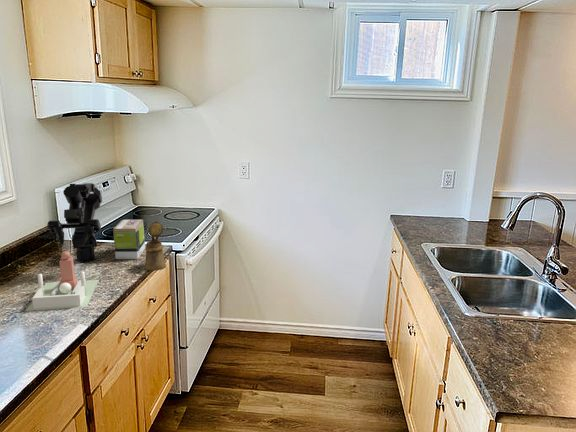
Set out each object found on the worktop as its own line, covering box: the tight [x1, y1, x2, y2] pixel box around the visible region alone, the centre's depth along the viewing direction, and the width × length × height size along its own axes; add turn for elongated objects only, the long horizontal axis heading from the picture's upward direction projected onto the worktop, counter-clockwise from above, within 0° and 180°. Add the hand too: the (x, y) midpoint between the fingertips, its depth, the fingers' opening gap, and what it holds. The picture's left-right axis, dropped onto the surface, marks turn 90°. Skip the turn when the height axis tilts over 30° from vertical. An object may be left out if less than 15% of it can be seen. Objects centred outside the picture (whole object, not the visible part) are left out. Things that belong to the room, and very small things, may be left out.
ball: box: [59, 283, 71, 294], centre depth 159 cm, size 4×4×4 cm
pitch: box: [25, 279, 100, 312], centre depth 159 cm, size 24×19×2 cm
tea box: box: [112, 219, 146, 260], centre depth 201 cm, size 15×10×15 cm, turn 5°
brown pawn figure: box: [144, 221, 167, 272], centre depth 187 cm, size 9×14×18 cm, turn 8°
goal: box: [31, 271, 87, 309], centre depth 152 cm, size 9×15×9 cm, turn 103°
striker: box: [58, 250, 78, 289], centre depth 162 cm, size 4×5×14 cm
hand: (72, 244), depth 171 cm, fingers open, 7 cm apart
